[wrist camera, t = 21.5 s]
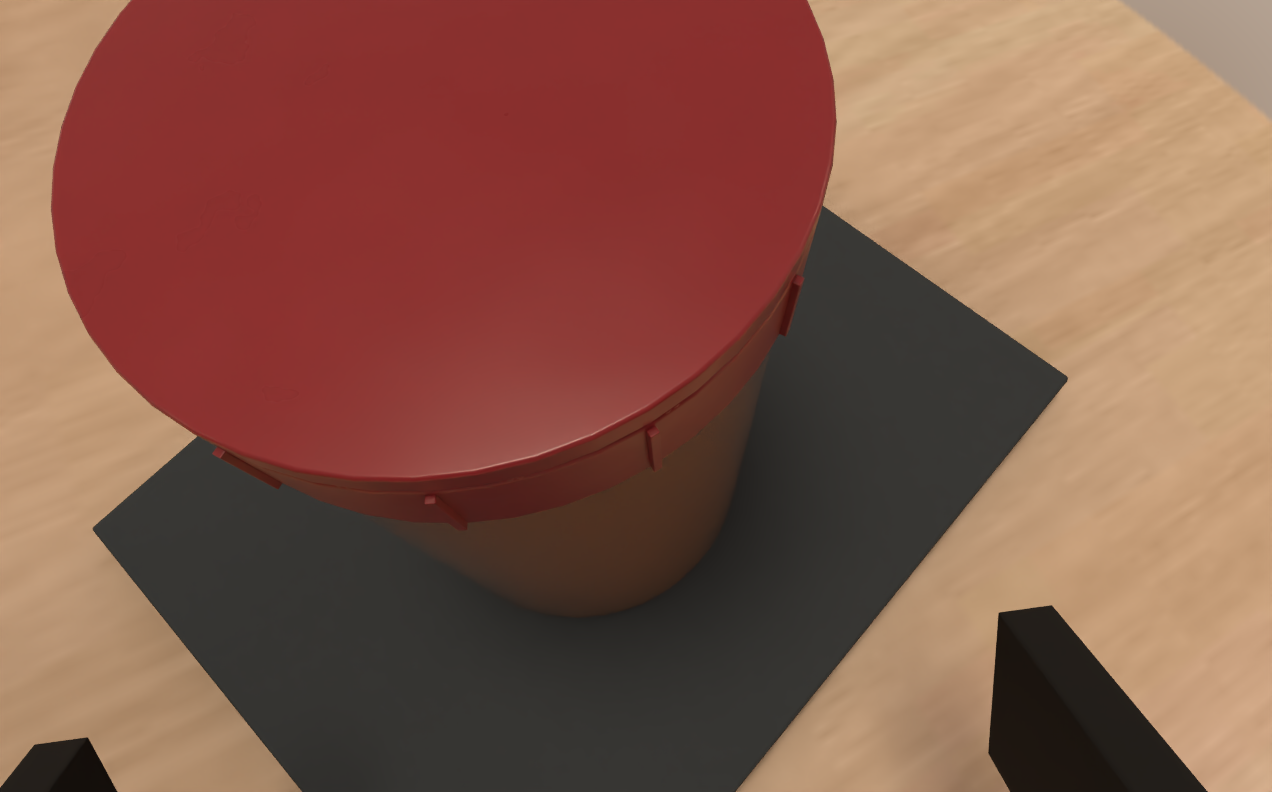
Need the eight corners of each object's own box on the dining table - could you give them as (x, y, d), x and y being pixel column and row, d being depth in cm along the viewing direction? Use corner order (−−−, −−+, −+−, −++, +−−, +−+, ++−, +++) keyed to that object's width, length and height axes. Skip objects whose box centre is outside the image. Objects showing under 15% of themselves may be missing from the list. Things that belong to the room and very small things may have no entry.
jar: (364, 467, 21) (-39, 162, 9) (579, 266, 23) (472, -202, 11) (583, 691, 18) (420, 667, 7) (802, 446, 20) (966, 100, 9)
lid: (30, 228, 10) (-96, 135, 9) (494, -121, 12) (464, -251, 11) (457, 694, 8) (399, 692, 6) (947, 174, 10) (1002, 66, 8)
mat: (114, 536, 21) (90, 528, 21) (624, 87, 26) (622, 64, 25) (525, 1042, 17) (516, 1063, 16) (1053, 391, 22) (1070, 377, 21)
